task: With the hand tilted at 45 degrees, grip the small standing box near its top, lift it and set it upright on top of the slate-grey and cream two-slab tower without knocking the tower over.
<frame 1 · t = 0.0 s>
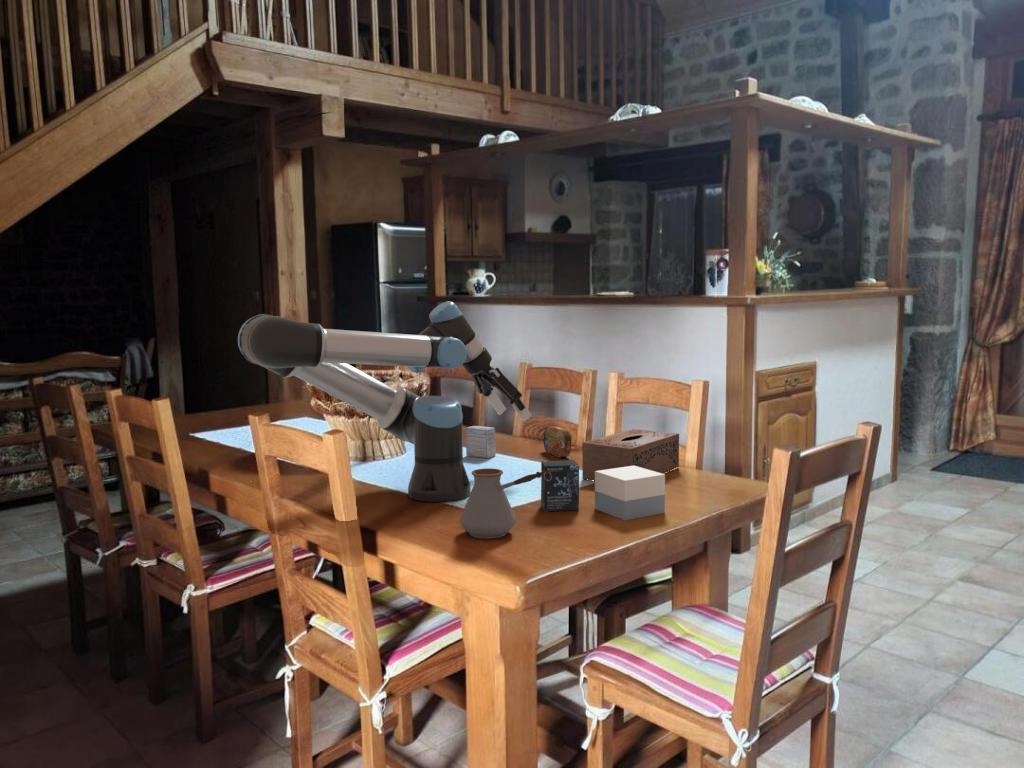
hand: (514, 415, 227), 15 cm above the table, tool tilted 35°, fingers open, 13 cm apart
medicine box: (481, 456, 249), on the table
box: (559, 509, 190), on the table
tissue box cover: (631, 475, 223), on the table
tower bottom: (629, 512, 187), on the table, touching tower top
tower top: (629, 492, 186), point 4 cm above the table, touching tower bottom
tin: (557, 455, 249), on the table
coffee pot: (507, 538, 168), on the table
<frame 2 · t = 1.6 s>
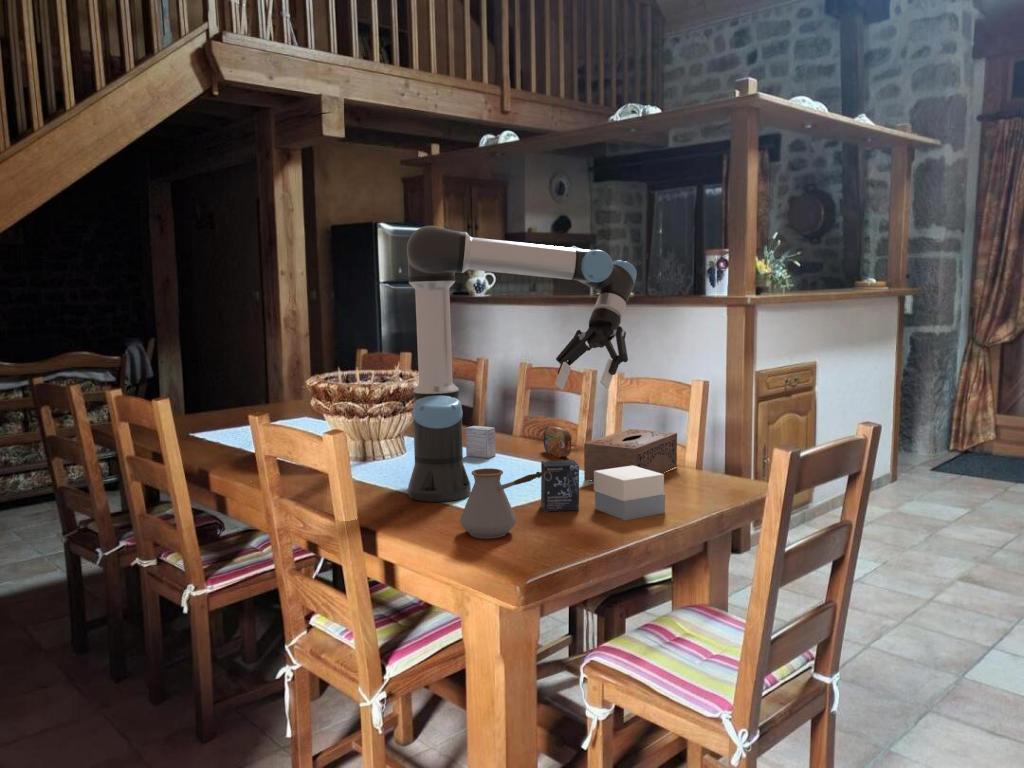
hand: (581, 386, 202), 26 cm above the table, tool tilted 40°, fingers open, 13 cm apart
nothing on the table moved.
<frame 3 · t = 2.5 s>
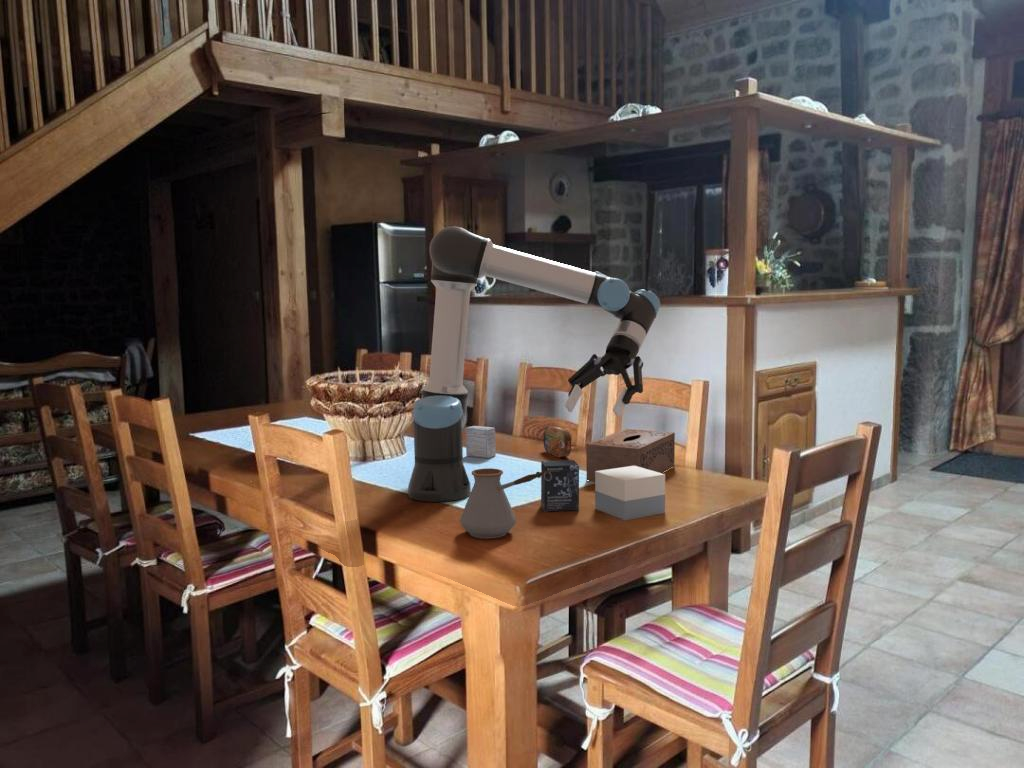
hand: (591, 411, 197), 21 cm above the table, tool tilted 45°, fingers open, 13 cm apart
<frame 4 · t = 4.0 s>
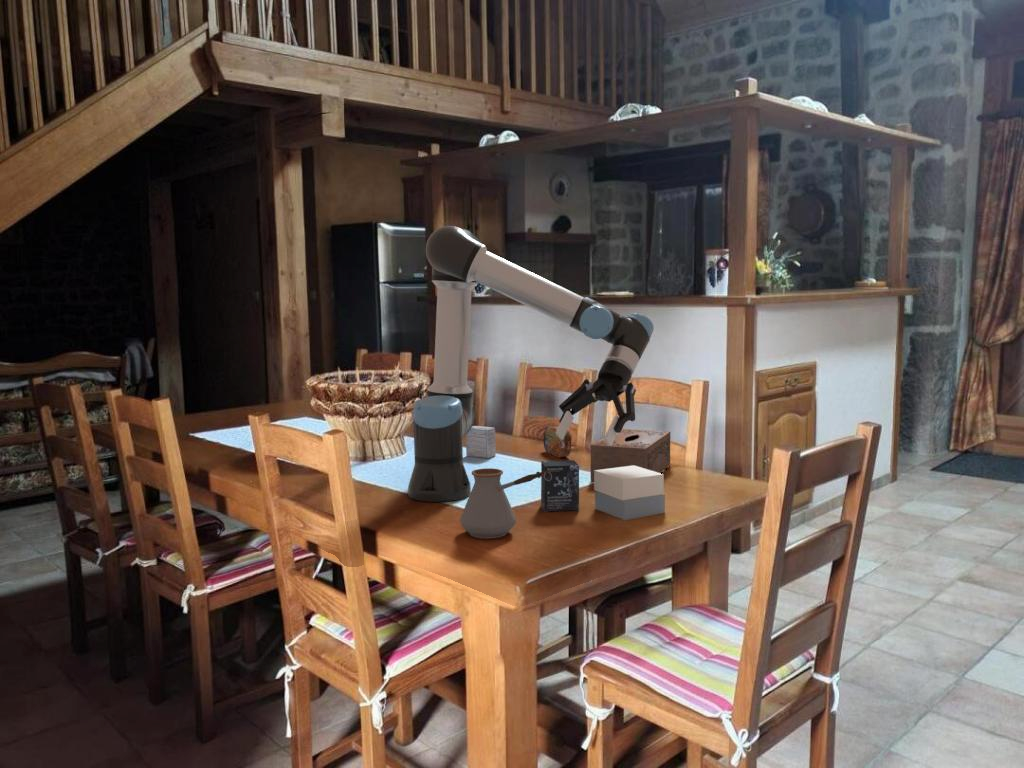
hand: (582, 439, 193), 15 cm above the table, tool tilted 45°, fingers open, 13 cm apart
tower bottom: (629, 512, 187), on the table
tower top: (628, 492, 187), point 4 cm above the table
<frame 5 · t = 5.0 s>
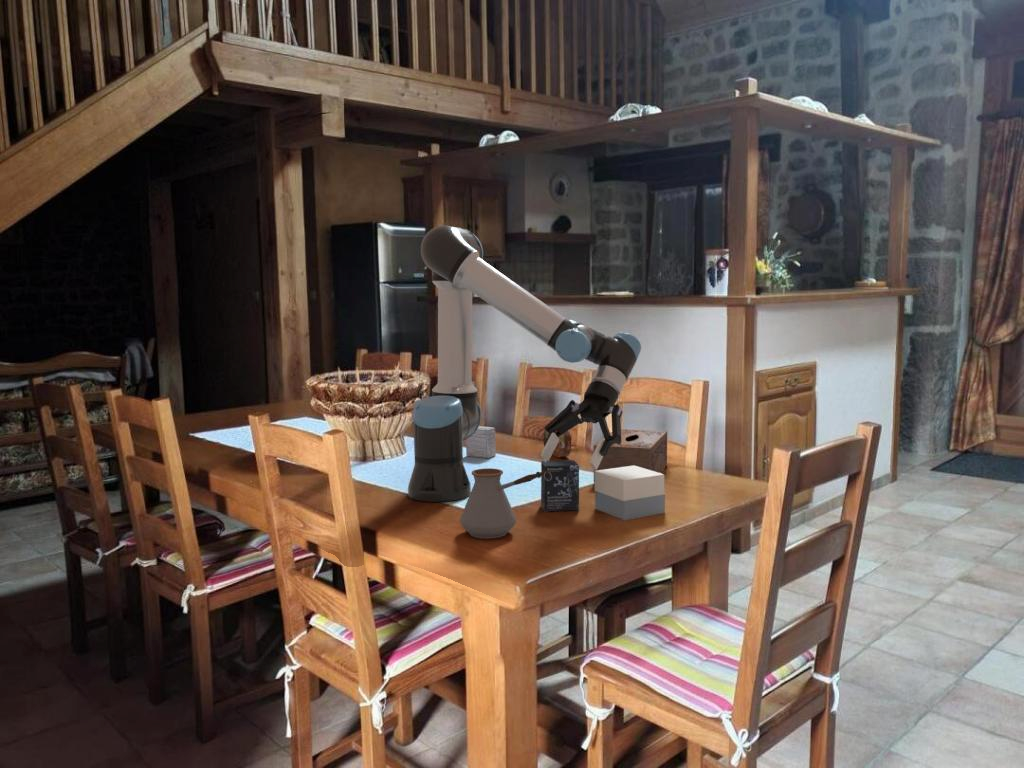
hand: (567, 462, 189), 10 cm above the table, tool tilted 45°, fingers open, 13 cm apart
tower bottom: (629, 512, 187), on the table, touching tower top
tower top: (629, 492, 186), point 4 cm above the table, touching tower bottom
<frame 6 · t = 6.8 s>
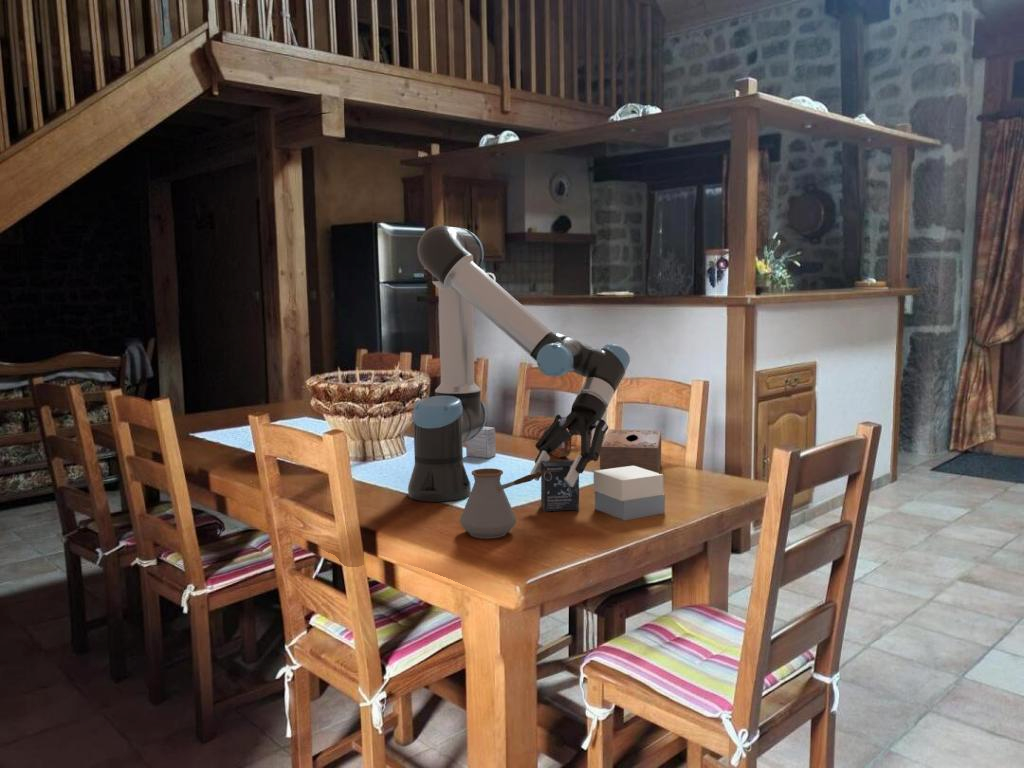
hand: (551, 480, 186), 7 cm above the table, tool tilted 45°, fingers closed on box, 9 cm apart
box: (560, 509, 190), on the table, touching gripper
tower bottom: (629, 512, 187), on the table
tower top: (627, 492, 186), point 4 cm above the table
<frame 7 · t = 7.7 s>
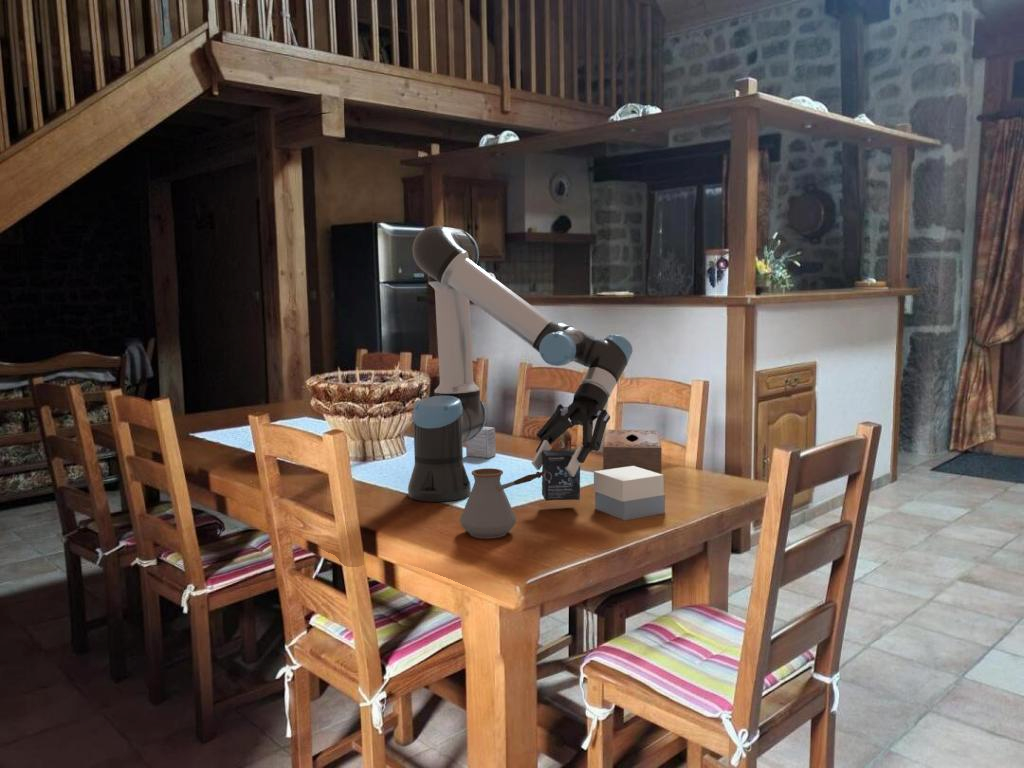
hand: (552, 469, 186), 9 cm above the table, tool tilted 45°, fingers closed on box, 9 cm apart
box: (560, 498, 189), point 2 cm above the table, touching gripper
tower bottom: (629, 512, 187), on the table, touching tower top
tower top: (628, 492, 186), point 4 cm above the table, touching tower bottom
when the fingers open (17 cm above the table, at t = 12.1 s): box drops 2 cm, point 8 cm above the table.
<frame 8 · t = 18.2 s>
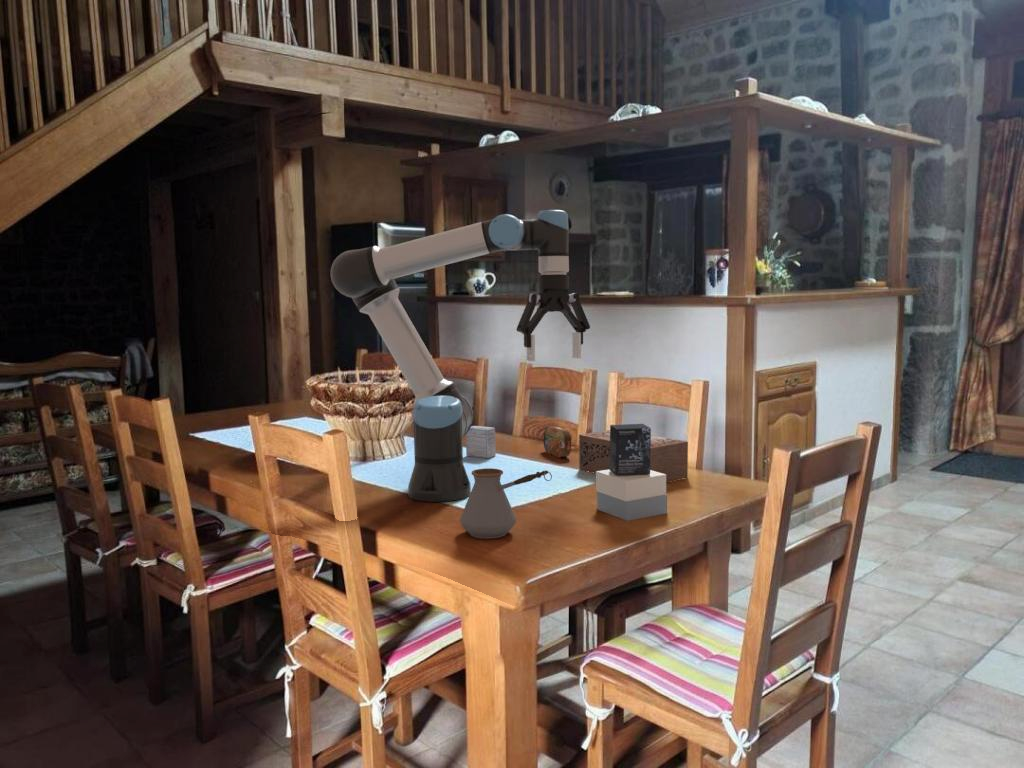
hand: (554, 359, 210), 32 cm above the table, tool pointing down, fingers open, 13 cm apart
box: (629, 473, 186), point 8 cm above the table
at the end: box 0.2 cm off-centre on the tower top, point 4.3 cm above the tower top's base; box tilted 1°; tower top moved 0.6 cm from its start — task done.
